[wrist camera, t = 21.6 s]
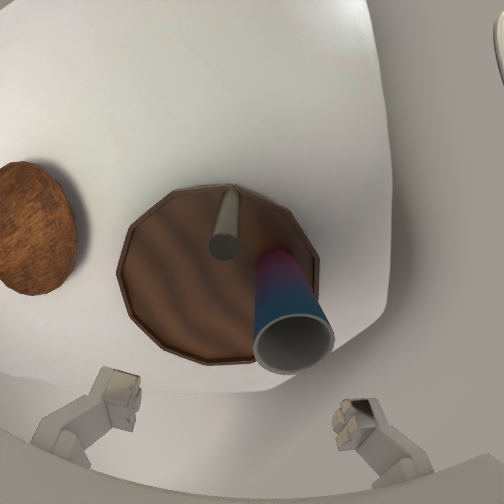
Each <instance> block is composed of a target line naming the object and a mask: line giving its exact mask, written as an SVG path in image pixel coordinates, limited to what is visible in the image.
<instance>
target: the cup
mask: <svg viewBox="0 0 504 504" xmlns="http://www.w3.org/2000/svg"><path fill="white" fill-rule="evenodd" d="M334 341H335V337H334V332H333V330H332V328H331V326H330V324H329V322H328V320H327V318H326V316H325V314H324V312H323V310H322V309H321V307H320V305H319V303H318V301H317V299H316V297H315V295H314V293H313V292H312V290H311V288H310V286H309V284H308V282H307V280H306V279H305V277H304V275H303V273H302V271H301V269H300V267H299V266H298V264H297V262H296V260H295V258H294V257H293V256H292V254H290V253H289V252H288V251H286V250H283V249H272V250H269V251H267V252H265V253H264V254H263V255H262V256H261V257H260V258H259V260H258V262H257V267H256V289H255V312H254V335H253V353H254V356H255V359H256V360H257V362H258V363H259V364H260V365H261V366H262V367H263V368H265V369H266V370H268V371H270V372H273V373H276V374H282V375H295V374H300V373H304V372H307V371H310V370H312V369H314V368H315V367H317V366H319V365H320V364H321V363H323V362H324V361H325V360H326V359H327V357H328V356H329V355H330V353H331V352H332V349H333V346H334Z"/></svg>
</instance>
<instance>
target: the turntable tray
mask: <svg viewBox="0 0 504 504" xmlns="http://www.w3.org/2000/svg"><path fill="white" fill-rule="evenodd" d="M272 249H283V250H286V251H288V252H289V253H290V254H292V256H293V257H294V258H295V260H296V262H297V264H298V266H299V267H300V269H301V271H302V273H303V275H304V277H305V279H306V280H307V282H308V284H309V286H310V288H311V290H312V292H313V293H314V295H315V297H316V299H317V301H318V297H319V265H320V258H319V255H318V254H317V252H316V250H315V249H314V247H313V246H312V244H311V243H310V241H309V239H308V238H307V236H306V235H305V233H304V232H303V230H302V228H301V227H300V225H299V224H298V222H297V221H296V219H295V218H294V216H293V215H292V213H291V212H290V210H288V209H287V208H285V207H283V206H281V205H279V204H277V203H275V202H274V201H272V200H270V199H268V198H267V197H265V196H263V195H261V194H259V193H256V192H253V191H251V190H248V189H245V188H242V187H240V186H238V185H236V184H235V185H234V186H233V184H225V185H202V186H196V187H191V188H187V189H179V190H174V191H172V192H171V193H169V194H168V195H167V196H166V197H164V198H163V199H162V200H160V201H159V202H158V203H157V204H155V205H154V206H153V207H152V208H151V209H149V210H148V211H147V212H146V213H144V214H143V215H142V216H141V217H140V218H138V219H137V220H136V221H135V222H134V223H132V224H131V225H130V227H129V228H128V232H127V235H126V238H125V242H124V245H123V249H122V252H121V256H120V259H119V263H118V267H117V270H116V276H117V279H118V283H119V286H120V290H121V293H122V296H123V299H124V303H125V306H126V309H127V312H128V315H129V317H130V319H131V320H132V321H133V322H134V323H135V324H136V325H137V326H138V327H139V328H140V329H141V330H142V331H143V332H144V333H145V334H146V335H147V336H148V337H149V338H150V339H151V340H152V341H153V342H155V343H156V344H157V345H158V346H159V347H160V348H161V349H163V350H164V351H167V352H169V353H172V354H174V355H177V356H180V357H182V358H185V359H188V360H191V361H194V362H196V363H199V364H202V365H206V366H214V365H235V364H251V362H252V363H254V362H256V361H257V360H256V359H255V356H254V353H253V335H254V312H255V289H256V267H257V262H258V260H259V258H260V257H261V256H262V255H263V254H264V253H265V252H267V251H269V250H272Z"/></svg>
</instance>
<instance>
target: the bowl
mask: <svg viewBox="0 0 504 504" xmlns="http://www.w3.org/2000/svg"><path fill="white" fill-rule="evenodd" d="M77 242H78V240H77V234H76V228H75V222H74V215H73V211H72V209H71V207H70V205H69V203H68V201H67V199H66V197H65V195H64V192H63V190H62V188H61V186H60V185H59V184H58V183H57V182H56V181H55V180H54V179H53V178H52V177H51V176H50V175H49V174H48V173H47V172H46V171H45V170H44V169H43V168H42V167H40V166H38V165H35V164H32V163H28V162H25V161H21V162H11V163H9V164H7V165H5V166H4V167H2V168H0V280H1V281H2V282H3V283H4V284H5V285H6V286H7V287H9V288H10V289H12V290H14V291H16V292H18V293H20V294H24V295H30V296H35V295H41V294H47V293H49V292H51V291H53V290H55V289H57V288H58V287H60V286H61V285H62V284H63V283H64V281H65V280H66V279H67V277H68V276H69V275H70V273H71V272H72V271H73V268H74V262H75V257H76V252H77Z"/></svg>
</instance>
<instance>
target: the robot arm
mask: <svg viewBox="0 0 504 504" xmlns="http://www.w3.org/2000/svg"><path fill="white" fill-rule="evenodd" d="M140 383H141V379H140V376H138V375H134V374H130V373H127V372H123V371H120V370H116V369H113V368H109V367H106V366H103V367H102V368H101V369H100V371H99V373H98V376H97V378H96V380H95V382H94V384H93V386H92V388H91V391H90V393H89V395H83V396H81V397H80V398H78V399H76V400H74V401H73V402H71V403H69V404H67V405H66V406H64V407H62V408H61V409H58V410H57V411H55V412H53V413H51V414H49V415H48V416H46V417H44V418H42V419H41V421H40V423H39V425H38V427H37V429H36V431H35V433H34V435H33V437H32V440H31V442H30V443H28V442H26V441H24V440H22V439H20V438H18V437H17V436H15V435H13V434H11V433H10V432H8V431H6V430H4V429H3V428H1V427H0V504H504V464H503V463H502V462H501V461H499V460H498V459H496V458H495V457H493V456H492V455H489V454H482V455H479V456H477V457H475V458H473V459H470V460H468V461H465V462H463V463H460V464H458V465H455V466H453V467H450V468H447V469H445V470H441V471H438V472H436V473H435V472H434V470H433V468H432V465H431V463H430V460H429V458H428V456H427V454H426V452H425V451H424V450H422V449H421V448H420V447H419V446H417V445H416V444H415V443H413V442H412V441H411V440H410V439H408V438H407V437H406V436H404V435H403V434H402V433H400V432H399V431H398V430H397V429H395V428H394V427H393V426H389V425H388V422H387V420H386V417H385V415H384V413H383V410H382V408H381V406H380V403H379V401H378V400H377V399H376V398H368V399H367V398H366V399H365V398H361V399H345V400H343V401H342V403H341V408H340V409H338V410H336V412H335V413H334V415H333V419H332V426H333V430H334V431H335V432H336V433H337V434H338V435H337V437H336V442H337V446H338V449H339V451H345V450H356V451H357V452H358V454H359V455H360V456H361V457H362V458H363V459H364V460H365V461H366V462H367V463H368V465H370V467H371V468H372V469H373V470H374V471H375V472H376V473H377V474H378V475H379V476H380V477H379V478H378V479H377V480H376V481H375V482H373V484H372V489H370V490H365V491H359V492H353V493H347V494H339V495H331V496H321V497H310V498H294V499H246V498H245V499H244V498H228V497H217V496H207V495H199V494H191V493H185V492H178V491H172V490H167V489H162V488H157V487H153V486H148V485H144V484H140V483H136V482H132V481H128V480H124V479H120V478H117V477H114V476H110V475H107V474H104V473H101V472H98V471H95V470H92V469H90V467H91V463H90V461H89V460H88V458H87V456H86V454H85V452H84V450H86V449H87V448H88V447H89V446H91V445H92V444H93V443H94V442H96V441H97V440H98V439H99V438H100V437H102V436H103V435H104V434H105V433H107V432H108V431H109V430H110V429H111V428H112V427H113V428H118V429H121V430H125V431H129V432H133V428H134V424H135V421H136V415H135V413H136V412H137V411H139V407H140V403H141V394H142V392H141V388H140V387H139V386H140Z"/></svg>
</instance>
